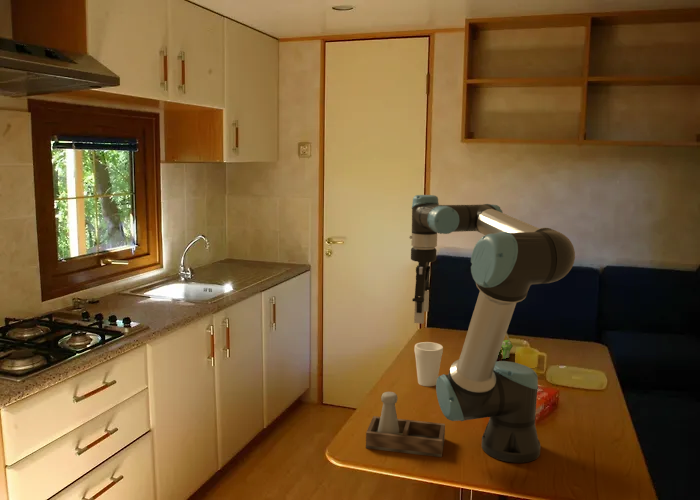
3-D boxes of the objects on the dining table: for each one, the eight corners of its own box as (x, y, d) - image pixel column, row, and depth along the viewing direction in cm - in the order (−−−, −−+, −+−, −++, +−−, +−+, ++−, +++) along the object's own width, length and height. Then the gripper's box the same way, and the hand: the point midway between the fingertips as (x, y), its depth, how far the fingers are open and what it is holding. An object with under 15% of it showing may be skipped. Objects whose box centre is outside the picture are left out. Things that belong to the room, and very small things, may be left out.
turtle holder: (493, 368, 225) (495, 336, 223) (469, 352, 242) (470, 323, 240) (522, 364, 229) (524, 333, 227) (497, 349, 246) (498, 320, 244)
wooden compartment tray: (444, 438, 170) (445, 423, 169) (441, 457, 159) (442, 441, 159) (373, 430, 174) (373, 416, 173) (365, 448, 164) (366, 432, 163)
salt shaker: (397, 445, 164) (398, 398, 162) (376, 442, 165) (377, 396, 163) (400, 435, 169) (401, 390, 167) (379, 433, 171) (380, 388, 168)
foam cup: (440, 378, 214) (442, 342, 212) (442, 388, 205) (443, 351, 203) (413, 377, 215) (414, 341, 213) (413, 387, 206) (414, 350, 204)
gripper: (416, 240, 195) (414, 305, 198) (405, 253, 171) (403, 327, 174) (439, 241, 193) (437, 307, 197) (432, 254, 169) (430, 329, 173)
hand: (421, 317), depth 186 cm, fingers open, 13 cm apart
